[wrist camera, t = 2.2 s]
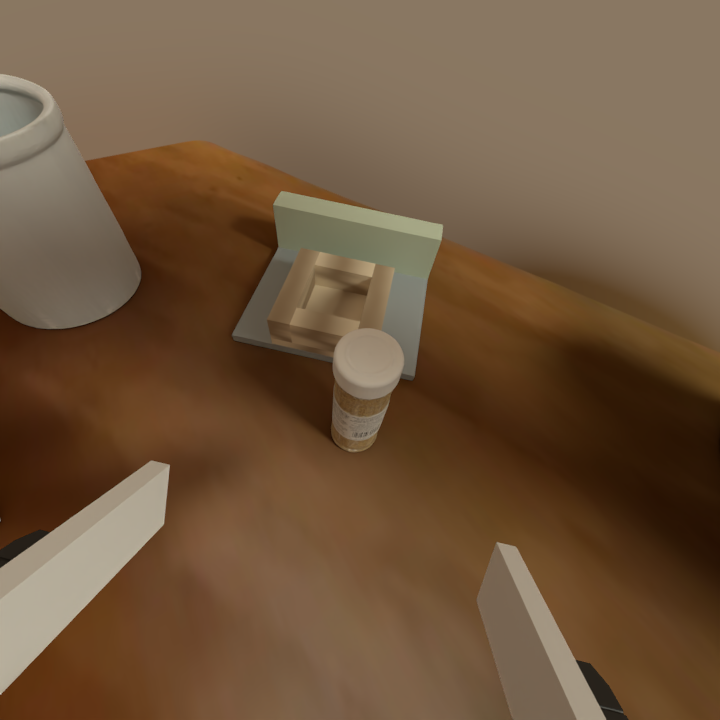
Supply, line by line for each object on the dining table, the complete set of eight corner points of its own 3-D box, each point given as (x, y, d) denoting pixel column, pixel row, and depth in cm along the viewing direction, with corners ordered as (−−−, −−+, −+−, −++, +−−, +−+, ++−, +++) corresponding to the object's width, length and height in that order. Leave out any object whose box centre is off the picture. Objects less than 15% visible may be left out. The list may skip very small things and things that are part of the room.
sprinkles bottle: (375, 408, 33) (401, 325, 22) (378, 453, 31) (410, 385, 20) (329, 409, 33) (333, 324, 22) (329, 454, 31) (333, 386, 19)
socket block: (389, 292, 41) (394, 267, 38) (373, 366, 35) (378, 344, 32) (302, 274, 41) (300, 247, 38) (272, 343, 35) (266, 319, 32)
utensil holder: (75, 229, 43) (-52, 53, 29) (175, 262, 42) (95, 95, 27) (-34, 307, 35) (-286, 119, 21) (84, 352, 34) (-98, 183, 19)
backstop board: (427, 269, 45) (443, 224, 40) (412, 380, 36) (430, 343, 30) (286, 239, 46) (281, 191, 40) (233, 340, 36) (216, 295, 30)
